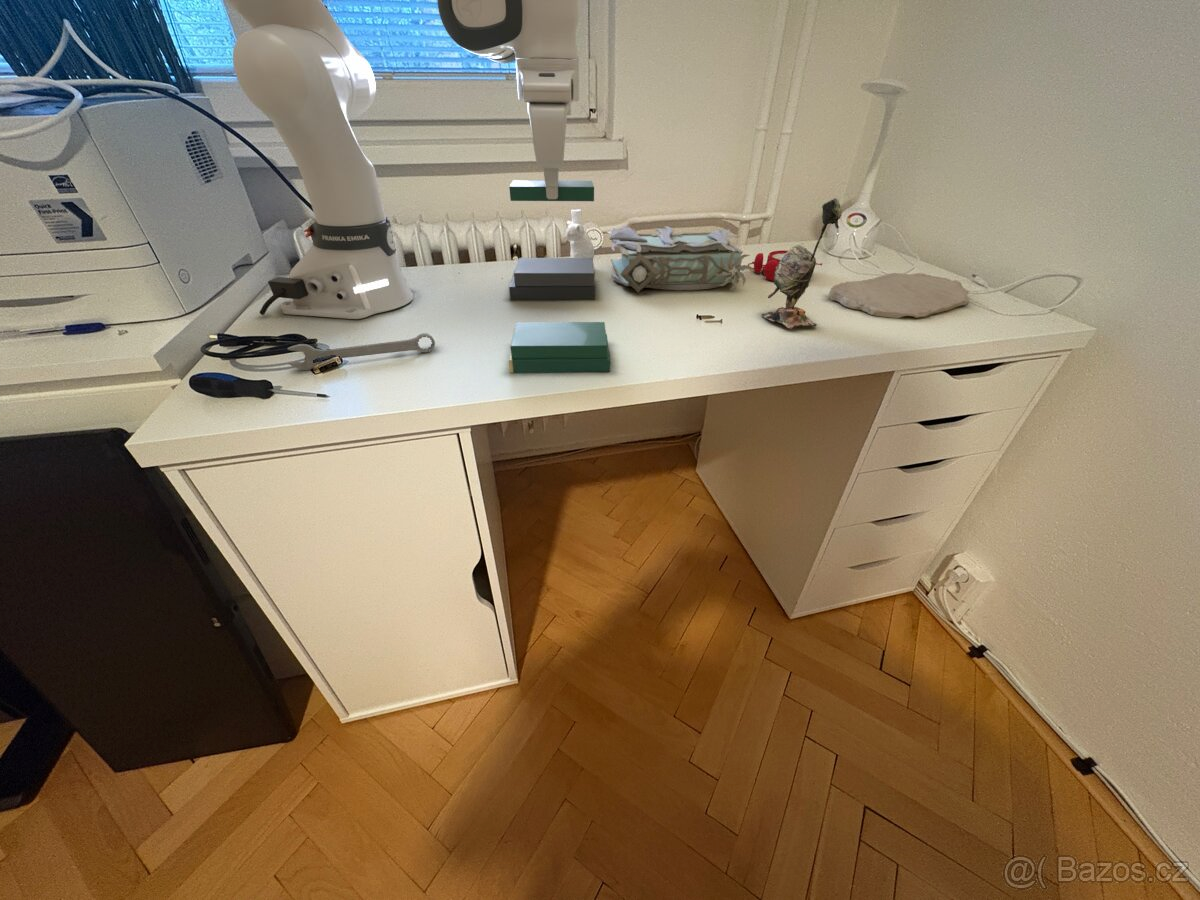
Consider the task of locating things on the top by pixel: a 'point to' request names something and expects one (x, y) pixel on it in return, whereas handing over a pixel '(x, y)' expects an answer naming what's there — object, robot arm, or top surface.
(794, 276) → the plant with pod
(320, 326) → the top surface
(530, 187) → the green book
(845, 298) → the stone tablet
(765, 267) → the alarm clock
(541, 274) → the grey books
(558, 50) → the robot arm
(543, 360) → the green rectangular block
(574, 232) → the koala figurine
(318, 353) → the combination wrench
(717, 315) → the top surface
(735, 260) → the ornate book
